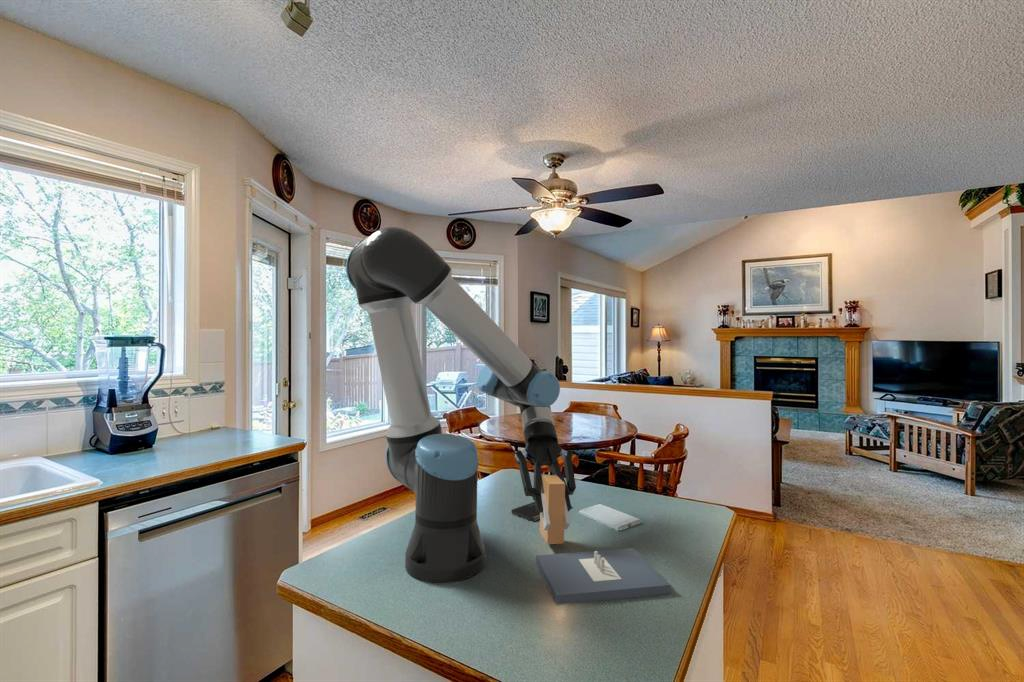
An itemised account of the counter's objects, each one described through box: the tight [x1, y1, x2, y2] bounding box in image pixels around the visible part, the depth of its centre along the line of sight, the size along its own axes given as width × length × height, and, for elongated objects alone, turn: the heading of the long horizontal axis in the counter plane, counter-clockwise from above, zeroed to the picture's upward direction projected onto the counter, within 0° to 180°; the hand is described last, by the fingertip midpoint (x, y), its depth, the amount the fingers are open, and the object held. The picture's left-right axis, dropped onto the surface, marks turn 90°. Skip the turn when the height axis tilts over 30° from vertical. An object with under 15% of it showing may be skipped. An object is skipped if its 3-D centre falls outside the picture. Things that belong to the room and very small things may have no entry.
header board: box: [535, 547, 671, 606], centre depth 82 cm, size 20×14×4 cm
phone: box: [510, 501, 540, 522], centre depth 115 cm, size 8×1×15 cm
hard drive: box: [578, 503, 642, 531], centre depth 110 cm, size 2×8×12 cm
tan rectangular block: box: [539, 474, 565, 545], centre depth 95 cm, size 3×6×12 cm, turn 11°
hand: (557, 526), depth 91 cm, fingers closed on tan rectangular block, 3 cm apart
